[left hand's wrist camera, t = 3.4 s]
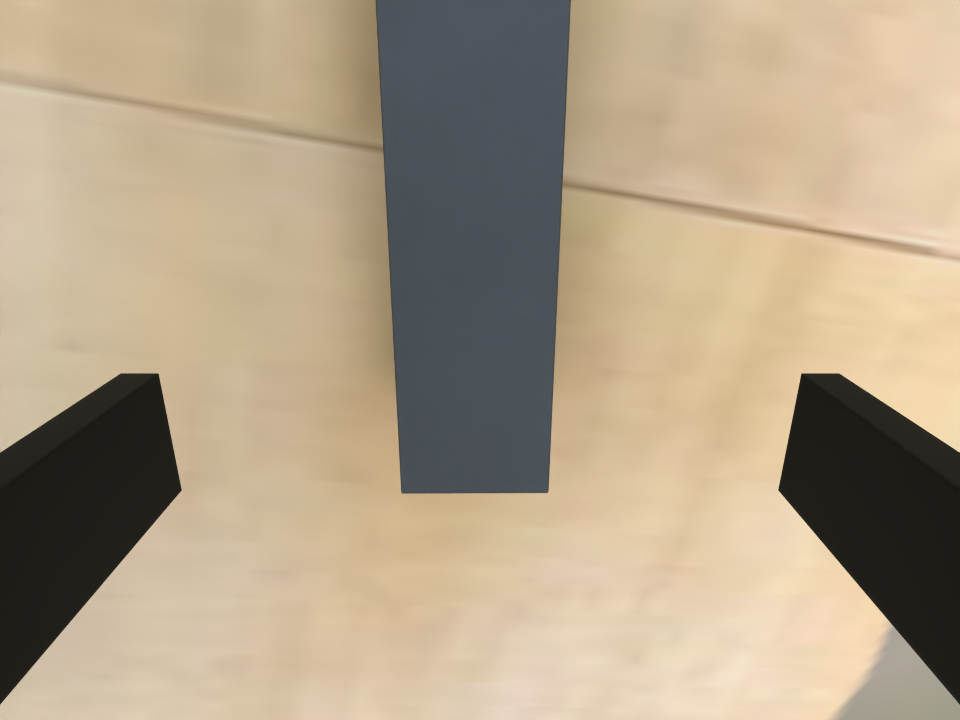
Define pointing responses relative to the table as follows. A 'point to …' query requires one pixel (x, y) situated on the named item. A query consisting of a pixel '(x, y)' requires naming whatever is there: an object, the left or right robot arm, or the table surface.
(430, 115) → the bar
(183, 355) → the table surface
